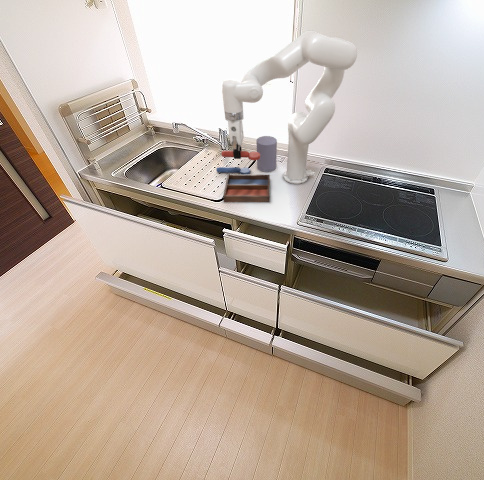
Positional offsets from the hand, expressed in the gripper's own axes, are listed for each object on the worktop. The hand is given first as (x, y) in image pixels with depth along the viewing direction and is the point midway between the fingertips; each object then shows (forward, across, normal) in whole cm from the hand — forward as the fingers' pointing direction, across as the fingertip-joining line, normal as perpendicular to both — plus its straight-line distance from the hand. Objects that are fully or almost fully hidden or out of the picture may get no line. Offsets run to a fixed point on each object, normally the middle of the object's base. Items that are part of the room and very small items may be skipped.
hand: (237, 156), depth 119 cm
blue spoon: (+15, +11, +5) cm, 19 cm away
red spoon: (0, 0, -1) cm, 1 cm away
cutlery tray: (+15, -5, -4) cm, 17 cm away
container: (+15, +17, -12) cm, 26 cm away
